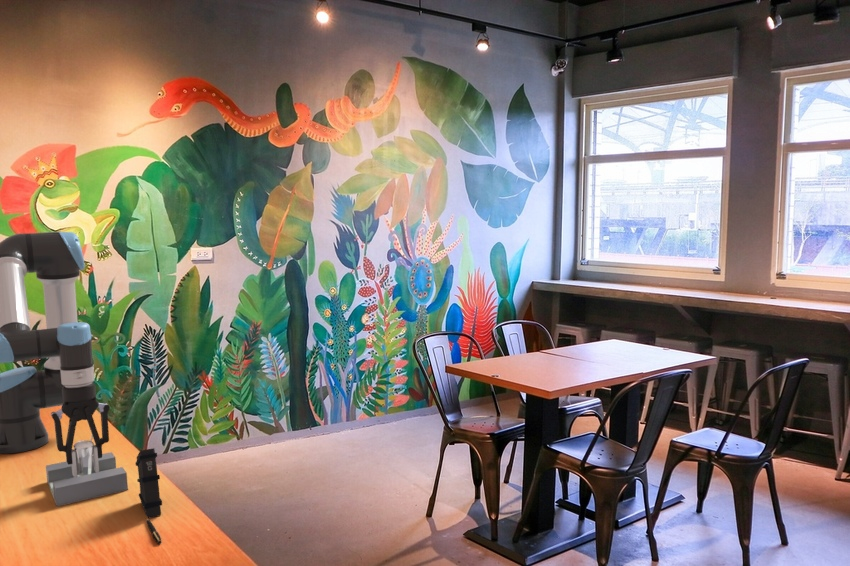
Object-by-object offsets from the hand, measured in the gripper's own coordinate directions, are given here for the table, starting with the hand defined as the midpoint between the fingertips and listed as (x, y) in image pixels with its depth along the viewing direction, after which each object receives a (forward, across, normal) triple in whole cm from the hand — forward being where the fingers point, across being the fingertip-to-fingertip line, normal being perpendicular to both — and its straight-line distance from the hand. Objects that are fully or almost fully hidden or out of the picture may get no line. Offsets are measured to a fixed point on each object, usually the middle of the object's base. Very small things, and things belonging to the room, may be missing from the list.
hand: (85, 472), depth 179 cm
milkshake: (+1, 0, 0) cm, 1 cm away
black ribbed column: (+4, +10, -24) cm, 26 cm away
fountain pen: (+4, +7, -38) cm, 39 cm away
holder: (+3, 0, 0) cm, 3 cm away
